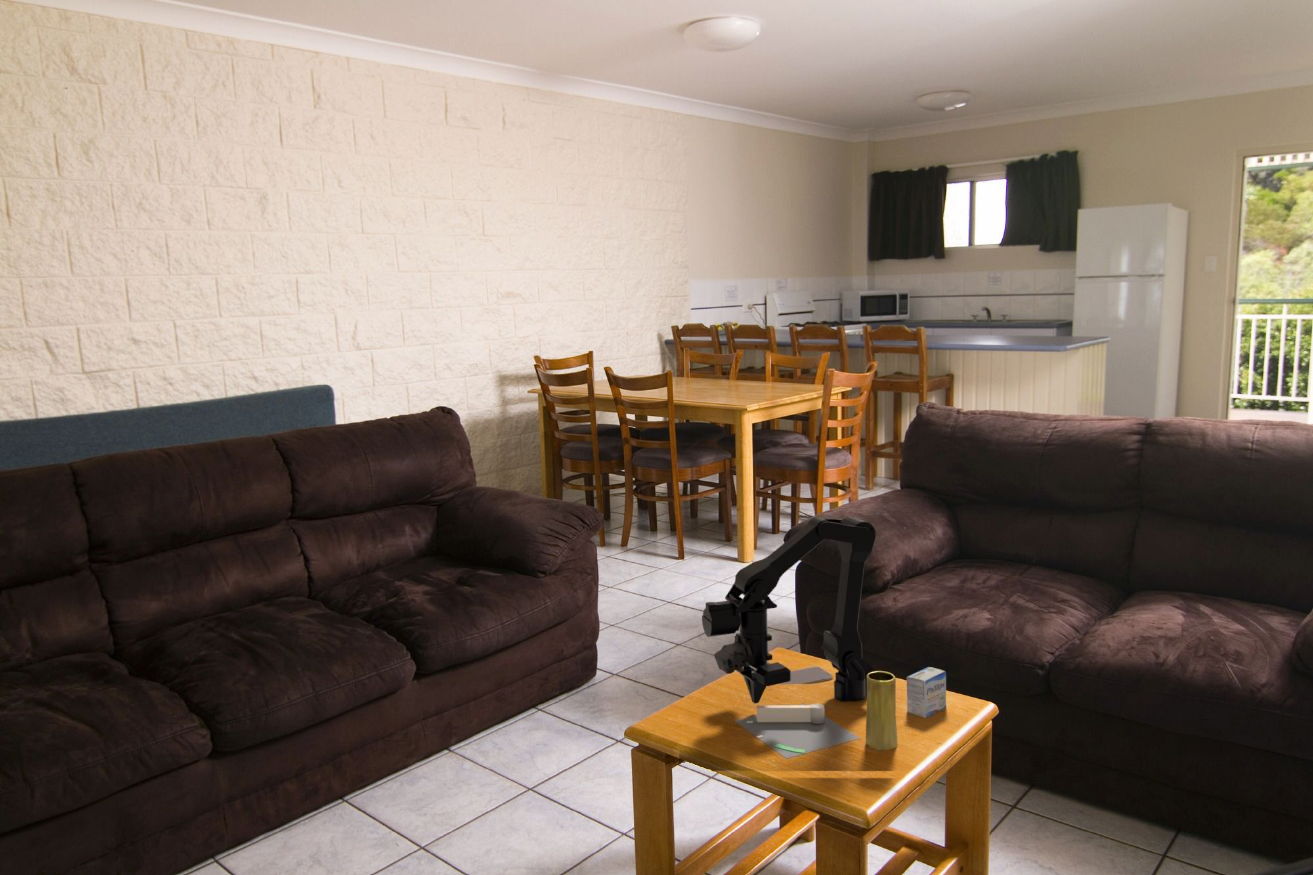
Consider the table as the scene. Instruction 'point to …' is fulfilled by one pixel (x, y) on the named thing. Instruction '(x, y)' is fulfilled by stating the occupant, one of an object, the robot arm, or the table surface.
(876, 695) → the vase
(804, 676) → the smartphone
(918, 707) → the medicine box
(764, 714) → the lever
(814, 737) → the dial plate
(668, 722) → the table surface
